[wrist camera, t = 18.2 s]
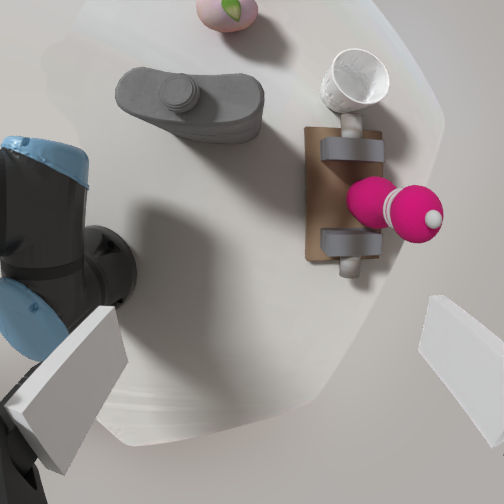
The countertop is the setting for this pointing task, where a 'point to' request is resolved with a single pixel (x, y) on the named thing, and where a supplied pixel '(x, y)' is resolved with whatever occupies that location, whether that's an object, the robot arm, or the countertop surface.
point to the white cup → (354, 81)
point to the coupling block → (340, 192)
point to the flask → (194, 104)
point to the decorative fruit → (227, 14)
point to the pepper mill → (396, 208)
